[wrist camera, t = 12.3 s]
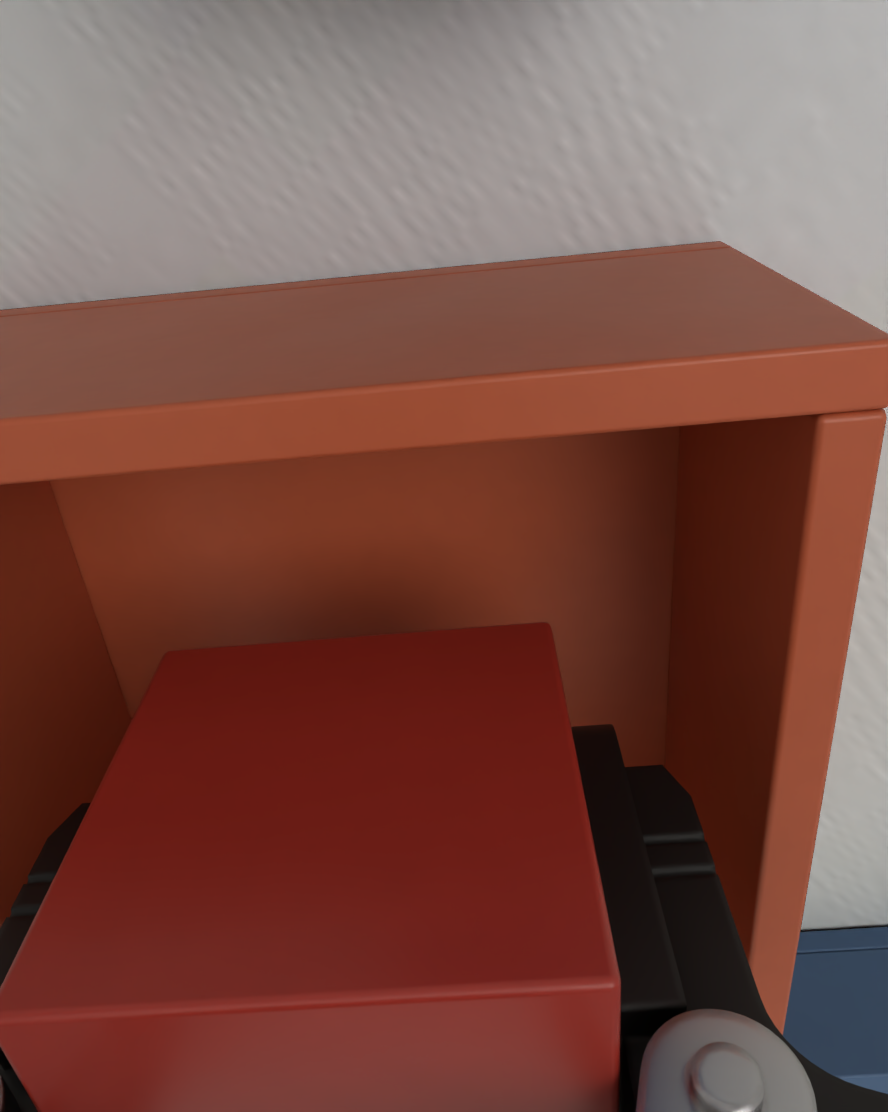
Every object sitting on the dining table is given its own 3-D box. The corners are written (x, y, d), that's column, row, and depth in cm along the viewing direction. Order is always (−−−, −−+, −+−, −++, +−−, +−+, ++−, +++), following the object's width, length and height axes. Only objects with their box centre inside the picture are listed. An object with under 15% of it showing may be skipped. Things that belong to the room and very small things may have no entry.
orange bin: (-32, 312, 12) (-319, 449, 7) (723, 240, 11) (905, 339, 7) (170, 877, 17) (76, 1151, 13) (684, 843, 17) (771, 1116, 12)
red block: (164, 647, 10) (-24, 1021, 6) (550, 618, 10) (624, 984, 6) (243, 907, 12) (146, 1304, 8) (560, 886, 12) (618, 1286, 8)
